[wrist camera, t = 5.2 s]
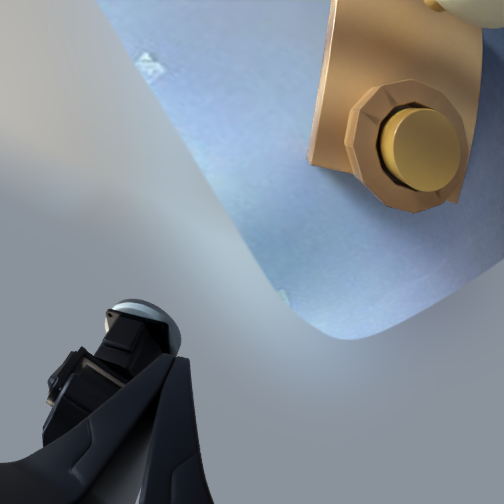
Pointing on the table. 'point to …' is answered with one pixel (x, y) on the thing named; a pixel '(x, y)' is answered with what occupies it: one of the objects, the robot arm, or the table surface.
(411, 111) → the lamp switch
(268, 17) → the table surface
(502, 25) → the lamp globe
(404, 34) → the lamp base
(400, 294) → the table surface
